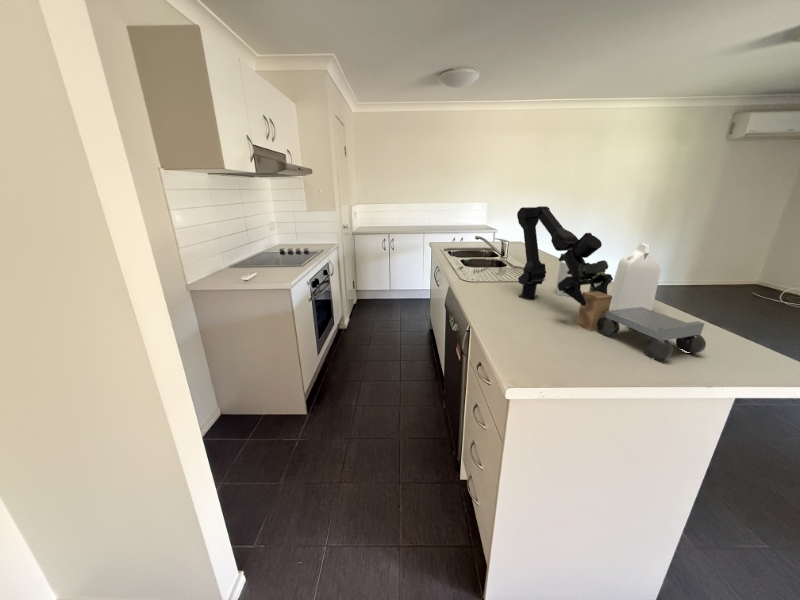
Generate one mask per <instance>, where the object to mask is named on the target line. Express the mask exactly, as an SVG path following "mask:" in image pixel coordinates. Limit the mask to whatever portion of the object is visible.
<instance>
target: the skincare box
mask: <svg viewBox="0 0 800 600" xmlns="http://www.w3.org/2000/svg"><path fill="white" fill-rule="evenodd" d="M568 271H569V269H568V267H567V265H566V263H565V261H559V268H558V274H557V279H556V287H555V292H556V295H557V296H560V295H563V296H564V297H570V296H569V295H568V294H566V293H563V291H559V288H558V283H559V282H561V281H562V280H563V279H565V278H566V277H572V275H571V274H568V273H567V272H568ZM563 296H562V297H563Z"/></svg>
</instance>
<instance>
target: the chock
mask: <svg viewBox="0 0 800 600" xmlns="http://www.w3.org/2000/svg"><path fill="white" fill-rule="evenodd" d="M582 295H583V297H584V299H585V302H586V305H585V306H582V305H581V304H580V303H579V309H578V314H577V320H576V326H579V327H581V328H582V329H585V330H586V331H589V332H594V331H599V330H598V328H597V323H598V320H599V319H600V318H602V317H605V313H606V311H610V308H611V307H610V303H611V299H612V296H611V295H610V294H608V293H607V294H605V293H602V292H599V291H590V290H589V291H583V292H582Z"/></svg>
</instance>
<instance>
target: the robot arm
mask: <svg viewBox="0 0 800 600" xmlns="http://www.w3.org/2000/svg"><path fill="white" fill-rule="evenodd" d="M516 218H517V221H518V224H519V226H520V227H521V229H522V230H523V238H524V248H525V250H524V251H525V259H526V263H525V265H524V267H523V273H522V274H521V275H520V276H519V277H518V278H517V279H518V284H521V285H522V288H521V289H522V290H521V293H520V294H519V295H518V298H522V299H526V300H531V301H532V300H533V301H534V300H535V299H536V298H538V295H537V287H538V285H542V284H543V281H544V280H545V278H546V274H547V271H546V264H545V263H542V262H541V260H540V254H539V246H538V245H539V244H538V237H537V225H538V223H539V221H540V223H541V224H542V225H543V226H544V228H545V230H546V231H547V233H549V235H550V237H551V243H552V244H551V245H552V246H553V248H554V250H556V251H557V252H564V253H561V254H560V255H559V258H558V261H559V262H560V261H565V263H566V265H567V267H568V269H569V271H568V272H567V273H568V274H571V275H572V277H566V278H565V279H563V280H562V281H561V282H559V283H558V288H559V291H563V293H566V294H568V295H569V296H568V297H571V298H572V299H574V300H575V301H576V302H577V303H578V304H579V305H580V304H581V305H582V306H585V305H586V302H585V299H584V297H583V295H582V294H583V292H582V290H581V286H583V285H584V286H585V285H591V286H592V287H593V290H594V291H599V292H602V293H605V294H608V286H609V284H611V283H612V282H613V281H614V278H613V275H612V274H610V273H606V272H607V270H608V268H609V264H608V262H607V260H605V259H603V260H600V261H597V262H593V263H590V262H586V261H585V259H587V258H589V257H590V256H592V255H593V254H594V253H596V252H597V251H598V250H599V249H600V248H602V241H601V240H600V239H599V238H598V237H597V236H595V235H593V234H592V233H591V232H586V233H584V234H582V236H581V237H580V238H578V237H577V235H575V234H574V233H573V232H572V231H570V230H568V229H566V228H564V227H563V226H562V224H561V223H560V221H559V220H558V219H557V218H556V216H554V214H553V213H552V212H551V209H550V207H549V206H548V205H547V206H545V205H544V206H541V205H540V206H536V207H535V206H531V207H525V206H524V207H521V208H519V210H518V211H517V214H516ZM606 262H607V263H606ZM600 272H605V274H600V275H598V276H597V277H595V278H593V277H594V276H596V275H597V274H596V273H600Z"/></svg>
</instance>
